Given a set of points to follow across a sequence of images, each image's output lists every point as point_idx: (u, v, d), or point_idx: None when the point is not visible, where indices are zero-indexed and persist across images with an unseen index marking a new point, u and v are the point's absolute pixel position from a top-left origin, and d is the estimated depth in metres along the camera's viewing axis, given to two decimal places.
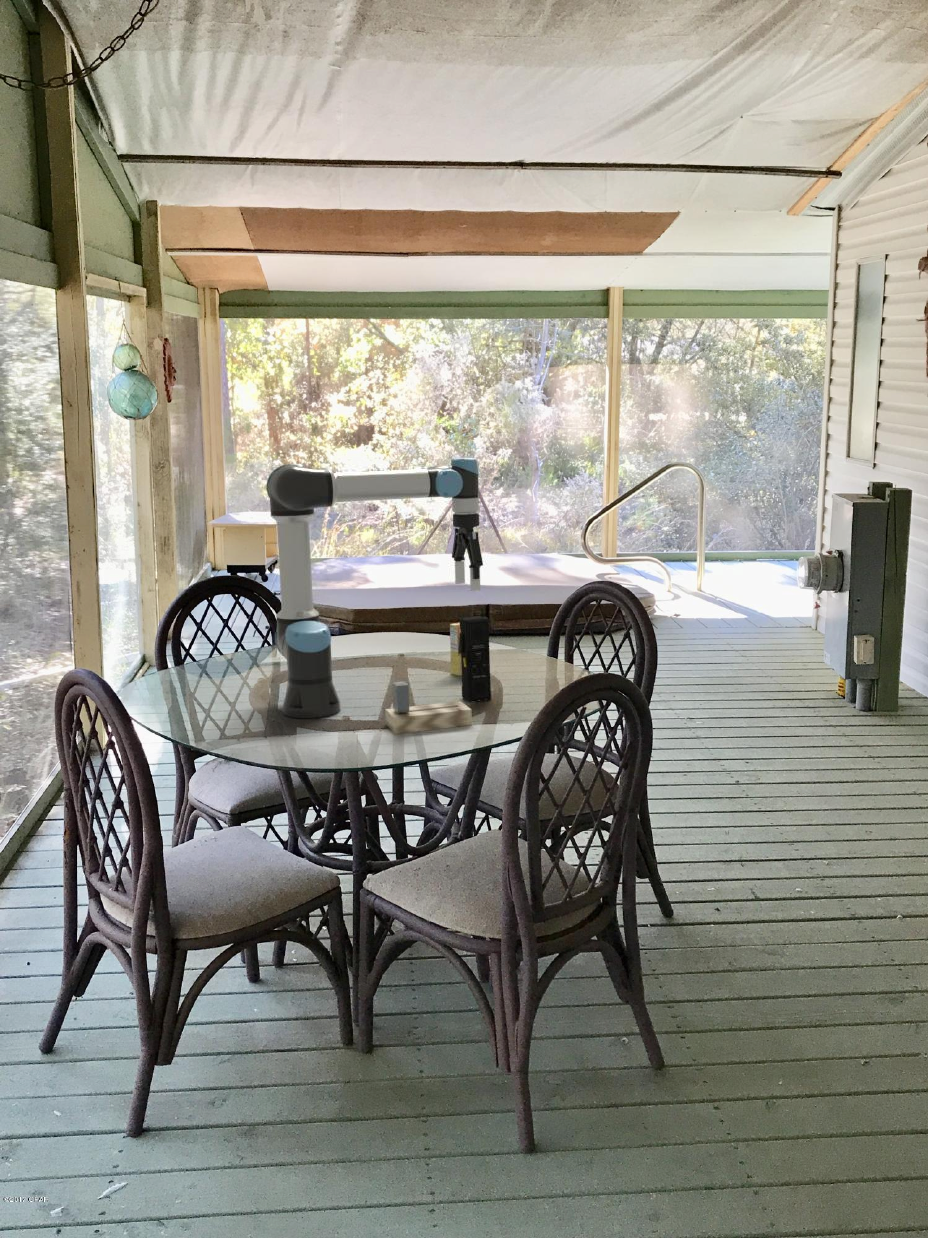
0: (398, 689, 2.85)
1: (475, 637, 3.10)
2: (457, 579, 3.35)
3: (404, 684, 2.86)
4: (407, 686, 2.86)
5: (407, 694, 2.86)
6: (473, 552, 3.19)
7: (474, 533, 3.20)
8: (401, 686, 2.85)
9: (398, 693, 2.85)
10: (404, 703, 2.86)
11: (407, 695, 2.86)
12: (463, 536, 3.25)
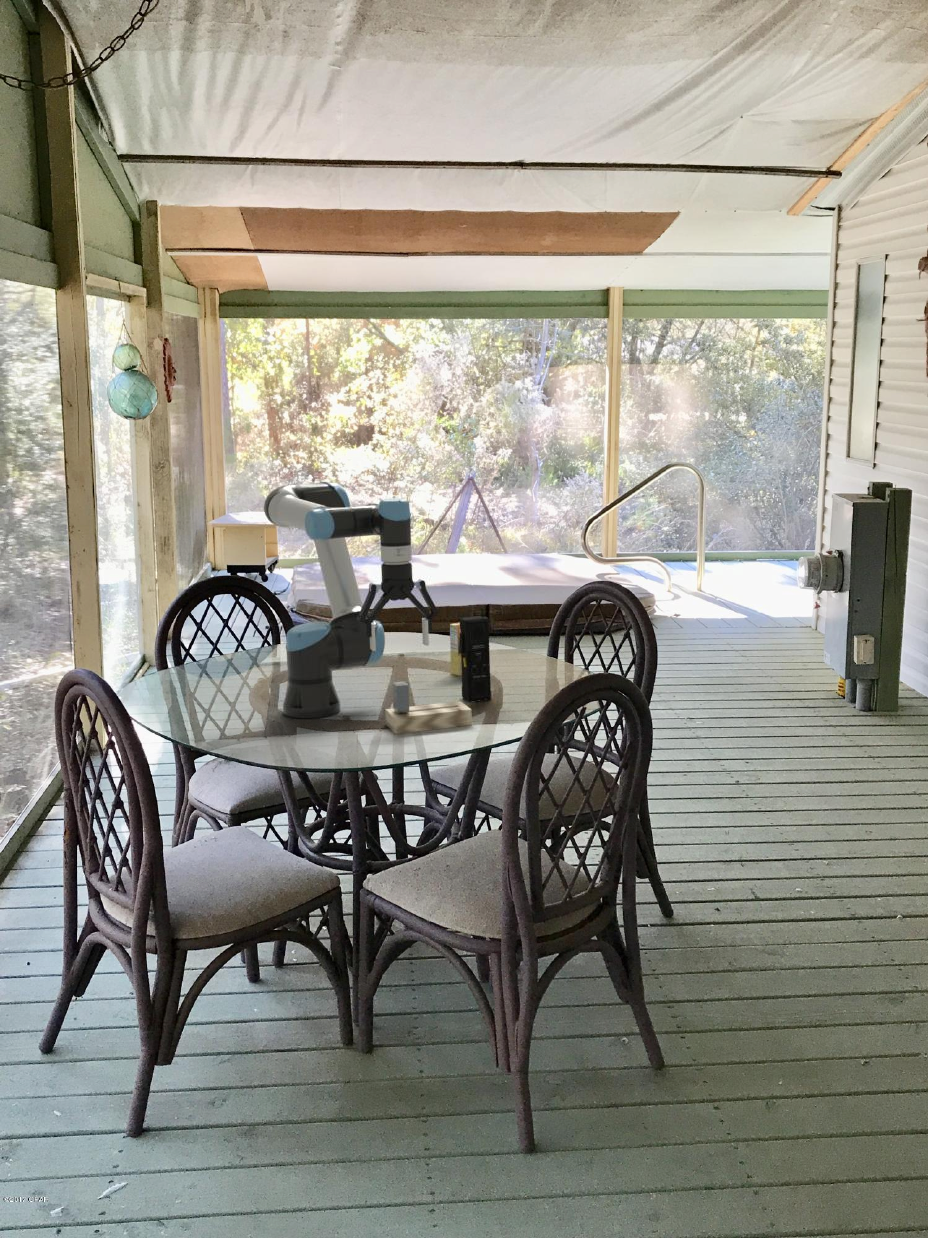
0: (398, 689, 2.85)
1: (475, 637, 3.10)
2: (423, 638, 2.88)
3: (404, 684, 2.86)
4: (407, 686, 2.86)
5: (407, 694, 2.86)
6: (363, 605, 2.82)
7: (370, 586, 2.81)
8: (401, 686, 2.85)
9: (398, 693, 2.85)
10: (404, 703, 2.86)
11: (407, 695, 2.86)
12: None
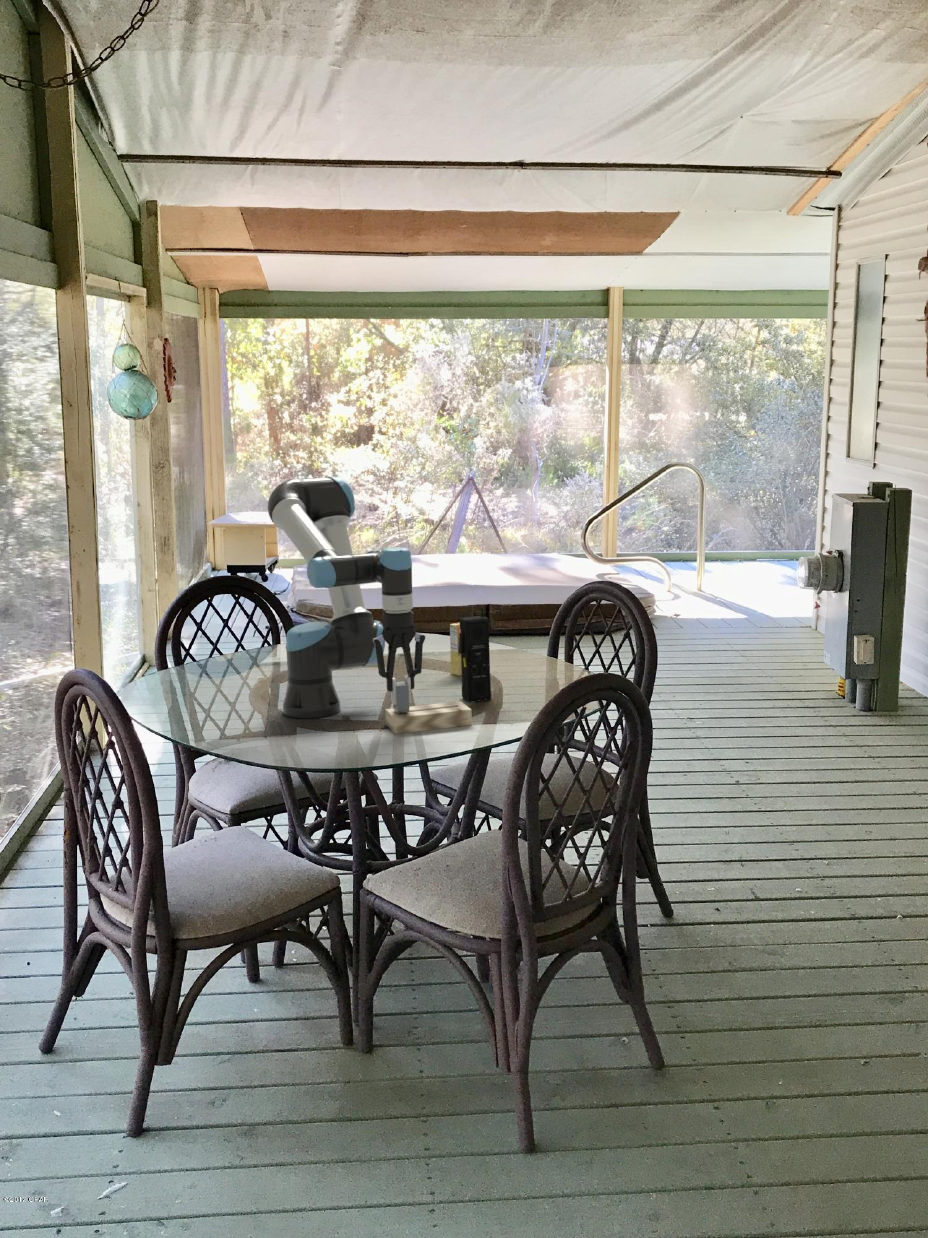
0: (398, 689, 2.85)
1: (475, 637, 3.10)
2: None
3: (404, 684, 2.86)
4: (407, 686, 2.86)
5: (407, 694, 2.86)
6: (377, 661, 2.85)
7: (373, 642, 2.83)
8: (401, 686, 2.85)
9: (398, 693, 2.85)
10: (404, 703, 2.86)
11: (407, 695, 2.86)
12: None
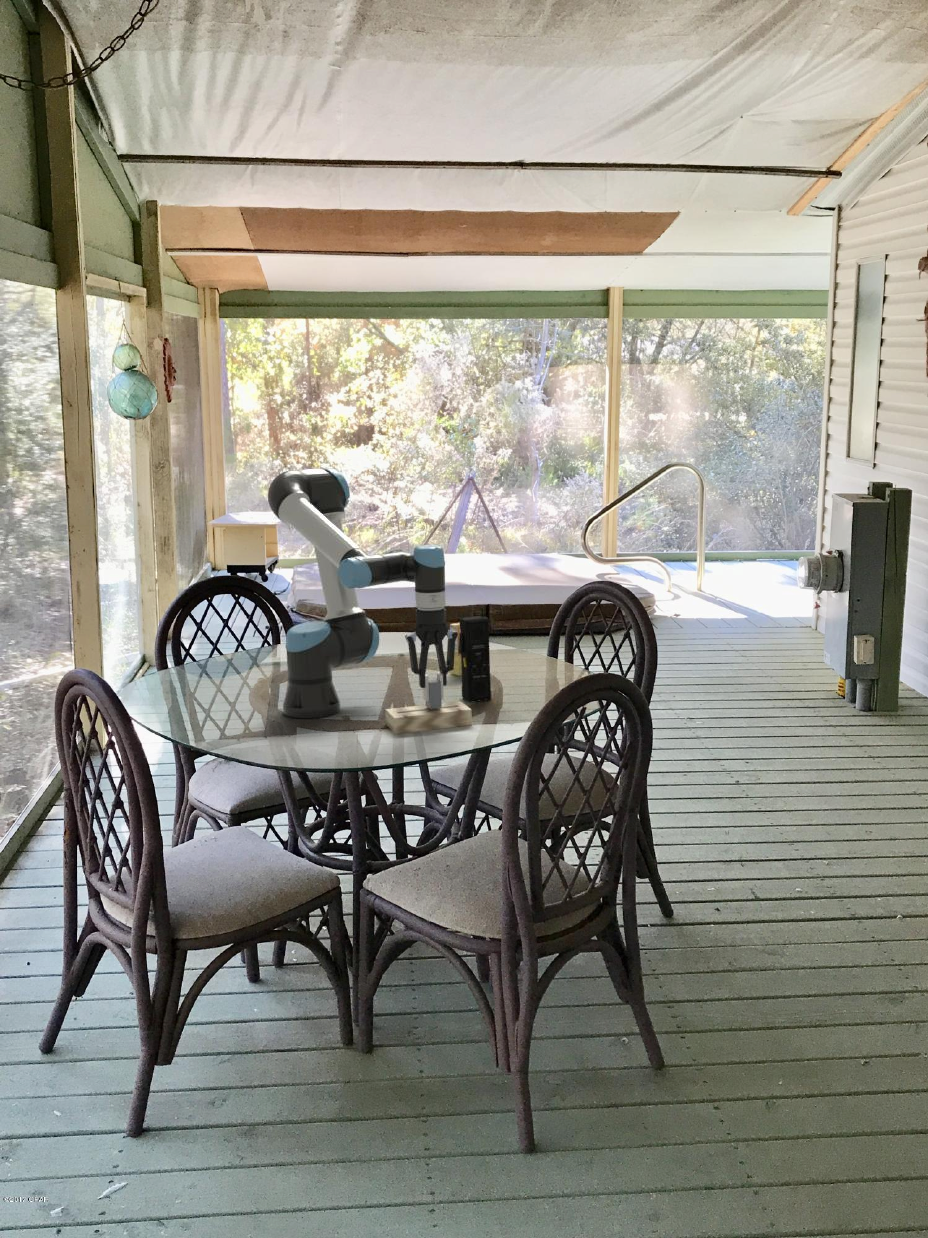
0: (431, 686, 2.88)
1: (475, 637, 3.10)
2: None
3: (436, 681, 2.89)
4: (439, 683, 2.89)
5: (439, 691, 2.89)
6: (410, 658, 2.88)
7: (406, 639, 2.86)
8: (434, 683, 2.88)
9: (431, 690, 2.88)
10: (437, 700, 2.89)
11: (439, 692, 2.89)
12: None
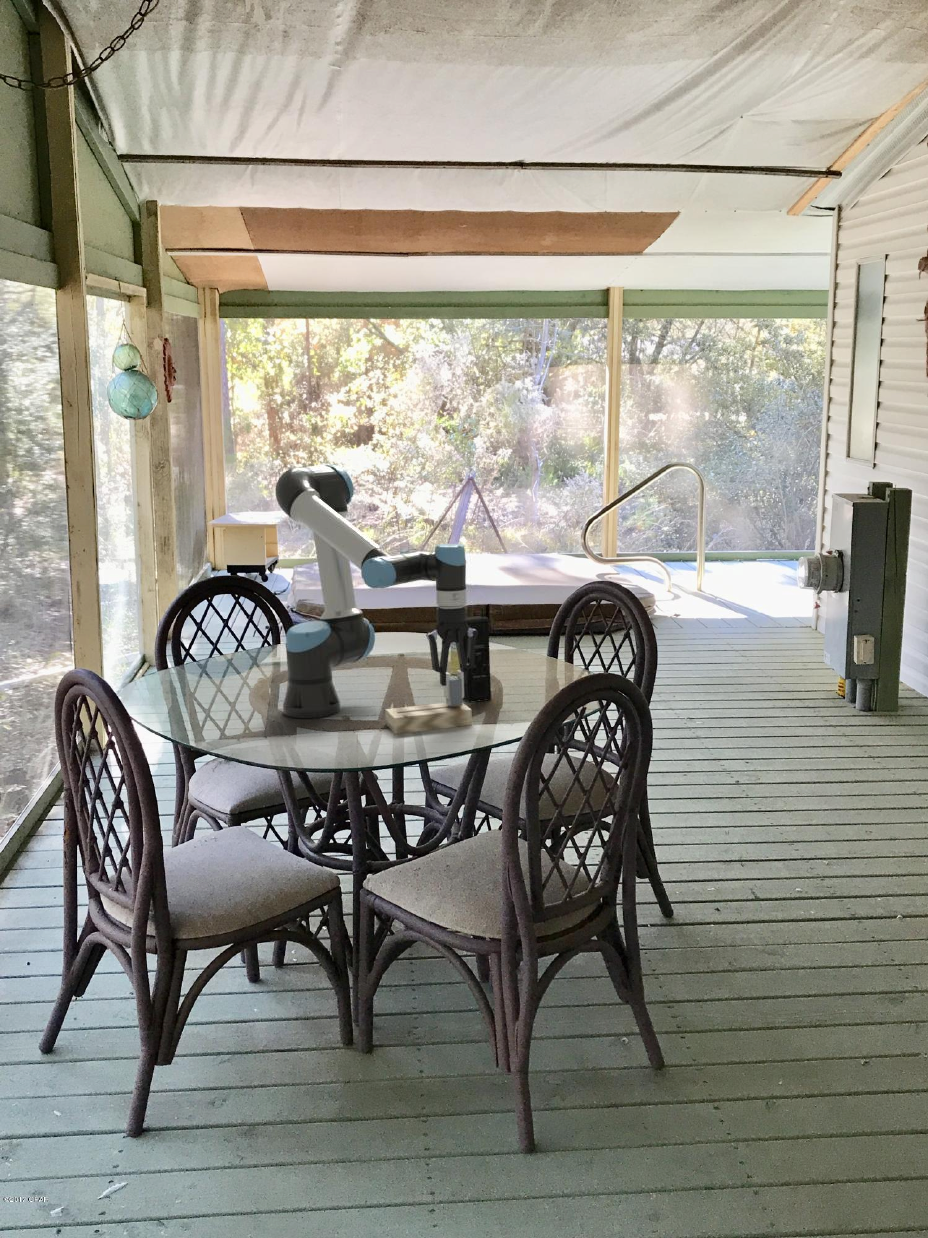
0: (451, 683, 2.90)
1: None
2: None
3: (457, 678, 2.91)
4: (460, 680, 2.90)
5: (460, 688, 2.91)
6: (431, 656, 2.90)
7: (427, 637, 2.87)
8: (454, 680, 2.90)
9: (451, 687, 2.90)
10: (457, 697, 2.91)
11: (460, 689, 2.91)
12: None
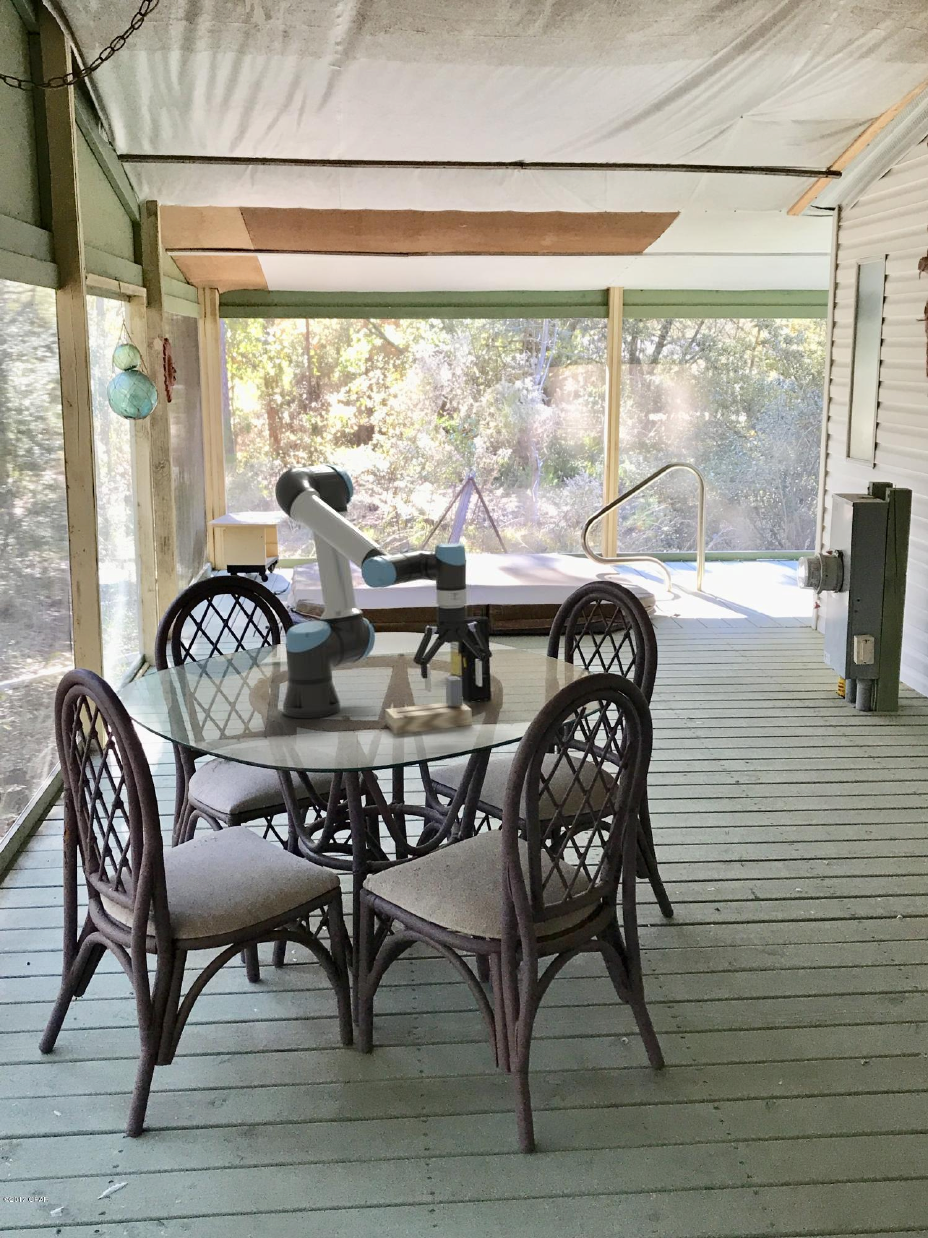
0: (452, 683, 2.90)
1: (475, 637, 3.10)
2: (476, 679, 2.95)
3: (457, 678, 2.91)
4: (460, 680, 2.90)
5: (460, 688, 2.91)
6: (419, 647, 2.88)
7: (426, 628, 2.87)
8: (454, 680, 2.90)
9: (452, 687, 2.90)
10: (458, 697, 2.91)
11: (460, 689, 2.91)
12: None
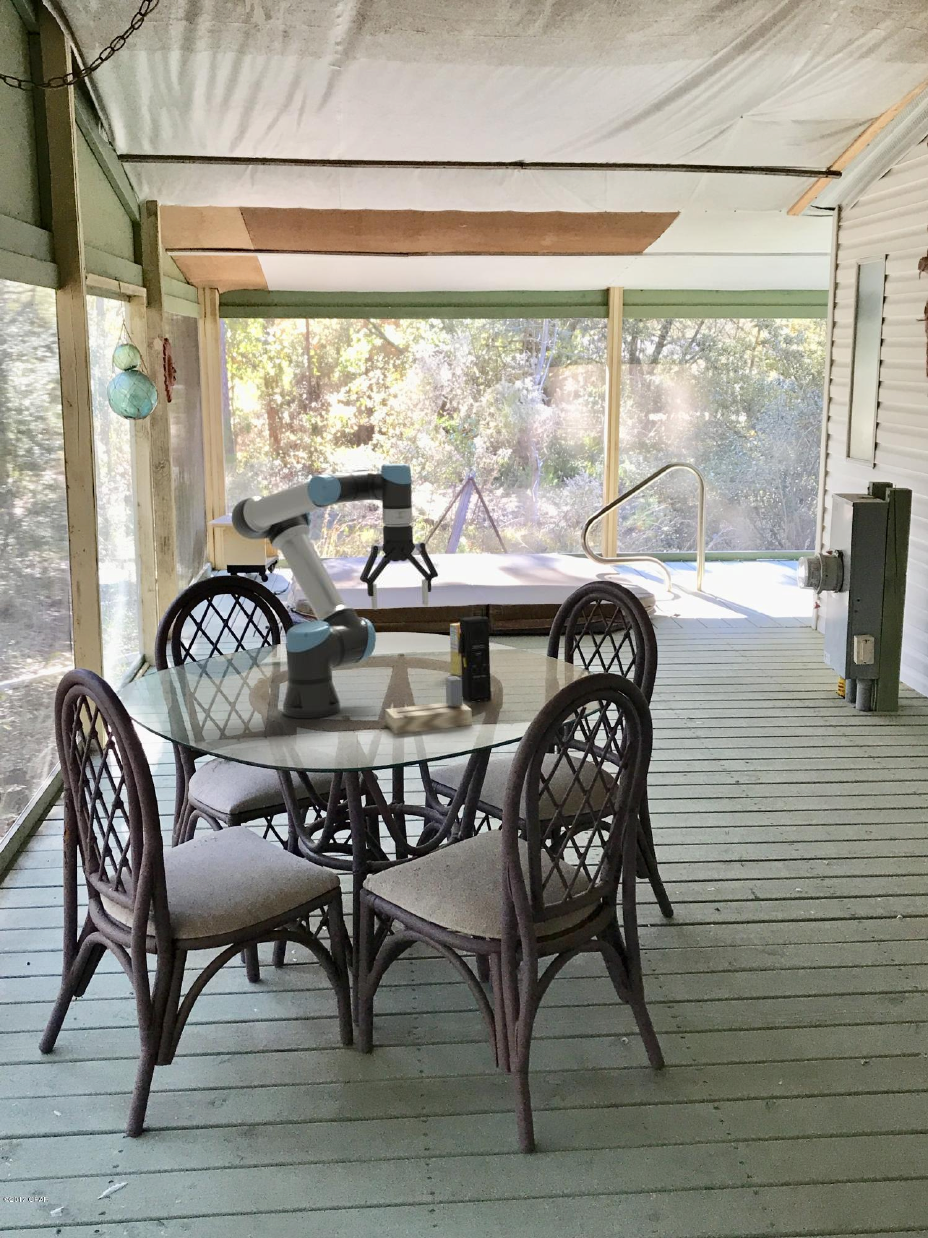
0: (452, 683, 2.90)
1: (475, 637, 3.10)
2: (422, 599, 3.00)
3: (457, 678, 2.91)
4: (460, 680, 2.90)
5: (460, 688, 2.91)
6: (365, 566, 2.94)
7: (372, 547, 2.92)
8: (454, 680, 2.90)
9: (452, 687, 2.90)
10: (458, 697, 2.91)
11: (460, 689, 2.91)
12: None
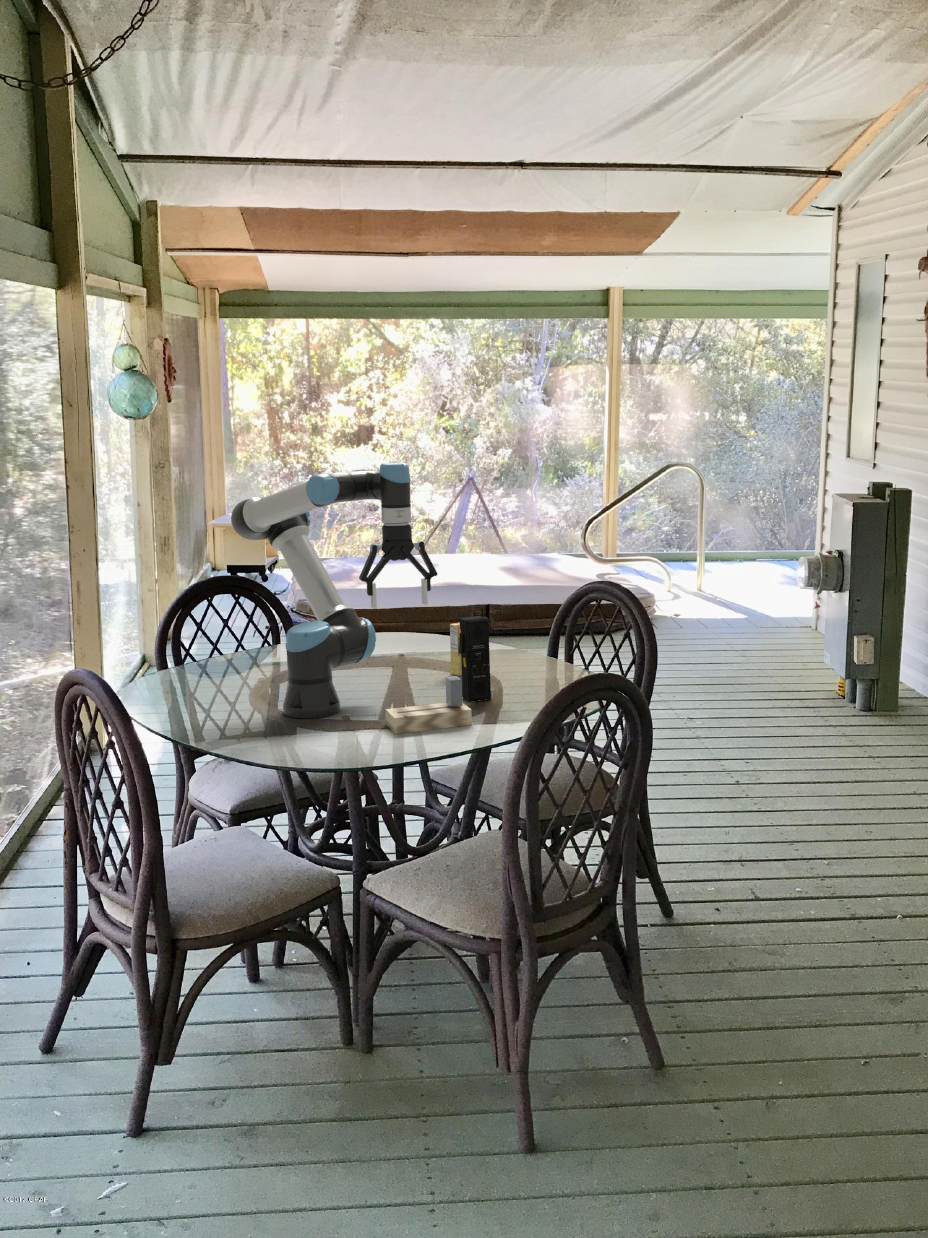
0: (452, 683, 2.90)
1: (475, 637, 3.10)
2: (422, 598, 3.00)
3: (457, 678, 2.91)
4: (460, 680, 2.90)
5: (460, 688, 2.91)
6: (364, 565, 2.94)
7: (371, 546, 2.92)
8: (454, 680, 2.90)
9: (452, 687, 2.90)
10: (458, 697, 2.91)
11: (460, 689, 2.91)
12: None
